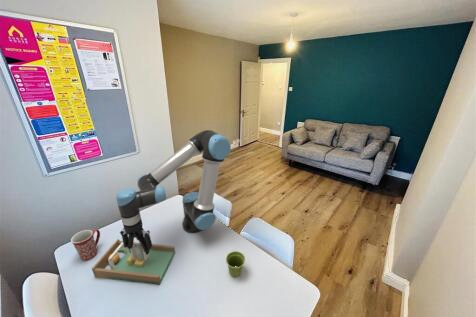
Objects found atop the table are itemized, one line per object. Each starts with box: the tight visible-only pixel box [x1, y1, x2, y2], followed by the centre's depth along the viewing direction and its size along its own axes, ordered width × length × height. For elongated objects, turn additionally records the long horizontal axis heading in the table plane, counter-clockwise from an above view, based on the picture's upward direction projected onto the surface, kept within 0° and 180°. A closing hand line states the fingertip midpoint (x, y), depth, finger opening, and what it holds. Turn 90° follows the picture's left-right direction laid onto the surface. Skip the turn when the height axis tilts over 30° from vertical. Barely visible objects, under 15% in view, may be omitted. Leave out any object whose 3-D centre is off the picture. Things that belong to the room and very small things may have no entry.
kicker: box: [127, 242, 149, 267], centre depth 97 cm, size 8×6×11 cm
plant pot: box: [225, 250, 246, 278], centre depth 96 cm, size 9×9×9 cm
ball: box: [108, 253, 120, 264], centre depth 100 cm, size 5×5×5 cm
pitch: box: [91, 239, 176, 286], centre depth 98 cm, size 32×18×9 cm, turn 84°
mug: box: [70, 228, 101, 261], centre depth 104 cm, size 13×9×14 cm
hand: (141, 257), depth 98 cm, fingers open, 6 cm apart
